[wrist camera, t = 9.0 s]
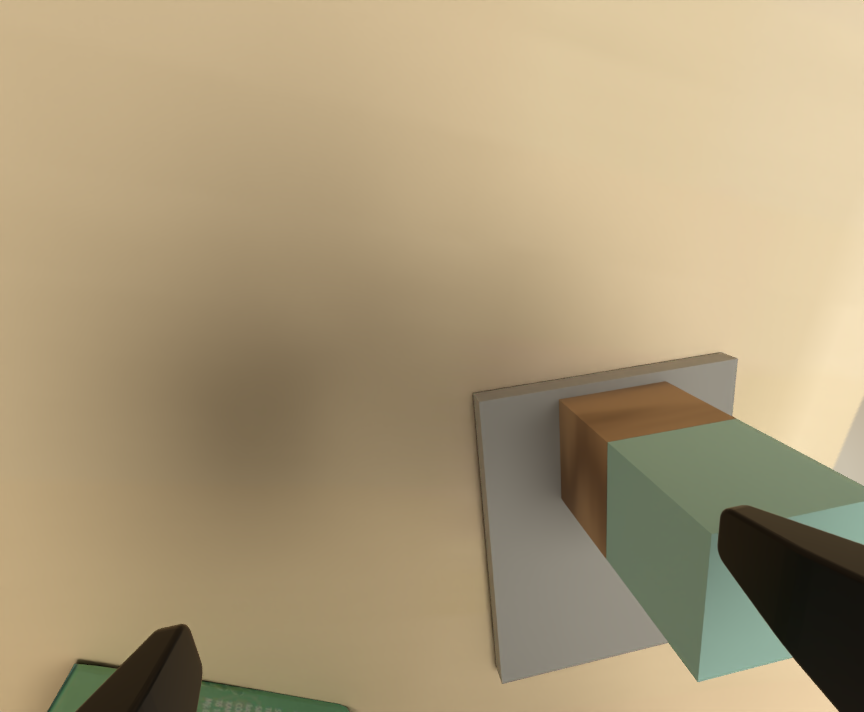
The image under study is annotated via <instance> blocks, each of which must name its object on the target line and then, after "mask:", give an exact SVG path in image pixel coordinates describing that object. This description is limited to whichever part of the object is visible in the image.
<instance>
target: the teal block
mask: <svg viewBox="0 0 864 712" xmlns="http://www.w3.org/2000/svg"><path fill="white" fill-rule="evenodd" d="M740 505H749V506H752V507H755V508H758V509H761V510H764V511H767V512H770V513H773V514H776V515H779V516H781V517H784V518H787V519H790V520H793V521H796V522H799V523H802V524H805V525H808V526H811V527H814V528H816V529H819V530H822V531H825V532H828V533H831V534H834V535H837V536H840V537H843V538H846V539H849V540H852V541H854V542H857V543H860V544H863V545H864V486H862V485H861V484H859V483H857V482H855V481H853V480H851V479H849V478H847V477H845V476H844V475H842V474H840V473H838V472H836V471H834V470H832V469H830V468H828V467H827V466H825V465H823V464H821V463H819V462H817V461H815V460H813V459H811V458H810V457H808V456H806V455H804V454H802V453H800V452H798V451H796V450H795V449H793V448H791V447H789V446H787V445H785V444H783V443H781V442H779V441H778V440H776V439H774V438H772V437H770V436H768V435H766V434H764V433H762V432H761V431H759V430H757V429H755V428H753V427H751V426H749V425H747V424H745V423H744V422H742V421H740V420H738V419H732V420H726V421H721V422H715V423H710V424H704V425H699V426H693V427H688V428H683V429H677V430H672V431H666V432H661V433H655V434H650V435H644V436H639V437H633V438H628V439H622V440H617V441H612V442H608V455H607V539H606V559H607V561H608V562H609V563H610V565H611V566H612V567H613V569H614V570H615V571H616V573H617V574H618V575H619V577H620V578H621V579H622V581H623V582H624V584H625V585H626V586H627V588H628V589H629V590H630V592H631V593H632V594H633V596H634V597H635V598H636V600H637V601H638V602H639V604H640V605H641V606H642V608H643V609H644V610H645V612H646V613H647V614H648V616H649V617H650V618H651V620H652V621H653V623H654V624H655V625H656V627H657V628H658V629H659V631H660V632H661V633H662V635H663V636H664V637H665V639H666V640H667V641H668V643H669V644H670V645H671V647H672V648H673V649H674V651H675V652H676V653H677V655H678V656H679V657H680V659H681V660H682V662H683V663H684V664H685V666H686V667H687V668H688V670H689V671H690V672H691V674H692V675H693V676H694V678H695V679H696V680H697V682H700V681H704V680H708V679H712V678H716V677H720V676H723V675H727V674H731V673H735V672H739V671H743V670H746V669H750V668H754V667H758V666H762V665H766V664H770V663H773V662H777V661H781V660H785V659H789V658H793V657H792V656H791V654H790V653H789V652H788V651H787V650H786V648H785V647H784V646H783V645H782V643H781V642H780V641H779V639H778V638H777V637H776V635H775V634H774V633H773V631H772V630H771V629H770V627H769V626H768V624H767V623H766V622H765V620H764V619H763V618H762V616H761V615H760V613H759V612H758V611H757V609H756V608H755V606H754V605H753V604H752V602H751V601H750V600H749V598H748V597H747V595H746V594H745V593H744V591H743V590H742V588H741V587H740V586H739V584H738V583H737V582H736V580H735V579H734V577H733V576H732V575H731V573H730V572H729V570H728V569H727V568H726V566H725V565H724V564H723V562H722V560H721V558H720V556H719V553H718V549H717V543H718V533H719V522H720V515H721V513H722V511H723V510H724V509H726V508H730V507H735V506H740Z"/></svg>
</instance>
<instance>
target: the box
mask: <svg viewBox="0 0 864 712" xmlns="http://www.w3.org/2000/svg"><path fill="white" fill-rule="evenodd" d="M116 670H117V669H116V668H109V667H102V666H93V665H84V664H74V666H73V668H72V670H71V671H70V673H69V675H68V677H67V678H66V680H65V682H64V684H63V685H62V687H61V689H60V691H59V692H58V694H57V696H56V697H55V699H54V701H53V703H52V704H51V706H50V708H49V710H48V711H47V712H75V711H76V710H77V709H78V708H79V707H80V706H81V705H82V704H83V703H84V702H85V701H86V700H87V699H88V698H89V697H90V696H91V695H92V694H93V693H94V692H95V691H96V690H97V689H98V688H99V687H100V686H101V685H102V684H103V683H104V682H105V681H106V680H107V679H108V678H109V677H110V676H111V675H112V674H113V673H114V672H115V671H116ZM197 712H349V710H348V709H347V707H346V706H342V705H340V704H335V703H330V702H324V701H318V700H313V699H307V698H301V697H296V696H290V695H284V694H279V693H273V692H267V691H262V690H256V689H249V688H243V687H237V686H231V685H225V684H219V683H213V682H206V681H202V683H201V689H200V695H199V701H198V707H197Z"/></svg>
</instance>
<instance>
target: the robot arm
mask: <svg viewBox="0 0 864 712" xmlns="http://www.w3.org/2000/svg"><path fill="white" fill-rule="evenodd" d="M717 549H718V553H719V556H720V558H721V560H722V562H723V564H724V565H725V566H726V568H727V569H728V570H729V572H730V573H731V575H732V576H733V577H734V579H735V580H736V582H737V583H738V584H739V586H740V587H741V588H742V590H743V591H744V593H745V594H746V595H747V597H748V598H749V600H750V601H751V602H752V604H753V605H754V606H755V608H756V609H757V611H758V612H759V613H760V615H761V616H762V618H763V619H764V620H765V622H766V623H767V624H768V626H769V627H770V629H771V630H772V631H773V633H774V634H775V635H776V637H777V638H778V639H779V641H780V642H781V643H782V645H783V646H784V647H785V648H786V650H787V651H788V652H789V653H790V654H791V656H792V657H793V658H794V659H795V661H796V662H797V663H798V664H799V665H800V666H801V668H802V669H803V670H804V671H805V672H806V673H807V675H808V676H809V677H810V678H811V679H812V681H813V682H814V683H815V684H816V685H817V686H818V688H819V689H820V690H821V691H822V692H823V693H824V695H825V696H826V697H827V698H828V699H829V701H830V702H831V703H832V704H833V705H834V706H835V708H836V709H837V710H838V711H839V712H864V545H863V544H860V543H857V542H854V541H852V540H849V539H846V538H843V537H840V536H837V535H834V534H831V533H828V532H825V531H822V530H819V529H816V528H814V527H811V526H808V525H805V524H802V523H799V522H796V521H793V520H790V519H787V518H784V517H781V516H779V515H776V514H773V513H770V512H767V511H764V510H761V509H758V508H755V507H752V506H749V505H740V506H735V507H730V508H726V509H724V510H723V511H722V513H721V515H720V522H719V533H718V543H717ZM201 683H202V663H201V660H200V657H199V654H198V651H197V648H196V645H195V642H194V639H193V636H192V633H191V631H190V629H189V627H188V626H187V625H185V624H179V625H174V626H170V627H165V628H161V629H158V630H157V631H155V632H154V633H153V634H152V635H151V636H150V637H149V638H148V639H147V640H146V641H145V642H144V643H143V644H142V645H141V646H140V647H139V648H138V649H137V650H136V651H135V652H134V653H133V654H132V655H131V656H130V657H129V658H128V659H127V660H126V661H125V662H124V663H123V664H122V665H121V666H120V667H119V668H118V669H117V670H116V671H115V672H114V673H113V674H112V675H111V676H110V677H109V678H108V679H107V680H106V681H105V682H104V683H103V684H102V685H101V686H100V687H99V688H98V689H97V690H96V691H95V692H94V693H93V694H92V695H91V696H90V697H89V698H88V699H87V700H86V701H85V702H84V703H83V704H82V705H81V706H80V707H79V708H78V709H77V710H76V711H75V712H197V707H198V701H199V695H200V689H201Z"/></svg>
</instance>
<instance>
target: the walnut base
mask: <svg viewBox="0 0 864 712" xmlns="http://www.w3.org/2000/svg"><path fill="white" fill-rule="evenodd" d="M732 419H736V418H734V417H732V416H730V415H729V414H727V413H725V412H723V411H721V410H719V409H717V408H715V407H713V406H712V405H710V404H708V403H706V402H704V401H702V400H700V399H698V398H696V397H695V396H693V395H691V394H689V393H687V392H685V391H683V390H681V389H679V388H678V387H676V386H674V385H672V384H670V383H668V382H666V381H664V382H658V383H652V384H646V385H641V386H635V387H629V388H623V389H617V390H611V391H605V392H599V393H594V394H588V395H582V396H576V397H570V398H564V399H559V426H560V465H561V499H562V500H563V502H564V503H565V504H566V506H567V507H568V509H569V510H570V511H571V513H572V514H573V515H574V517H575V518H576V519H577V521H578V522H579V523H580V525H581V526H582V527H583V529H584V530H585V531H586V533H587V534H588V535H589V537H590V538H591V539H592V541H593V542H594V544H595V545H596V546H597V548H598V549H599V550H600V552H601V553H602V554H603V556H604V557H605V558H606V539H607V455H608V442H612V441H617V440H622V439H628V438H633V437H639V436H644V435H650V434H655V433H661V432H666V431H672V430H677V429H683V428H688V427H693V426H699V425H704V424H710V423H715V422H721V421H726V420H732Z"/></svg>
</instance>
